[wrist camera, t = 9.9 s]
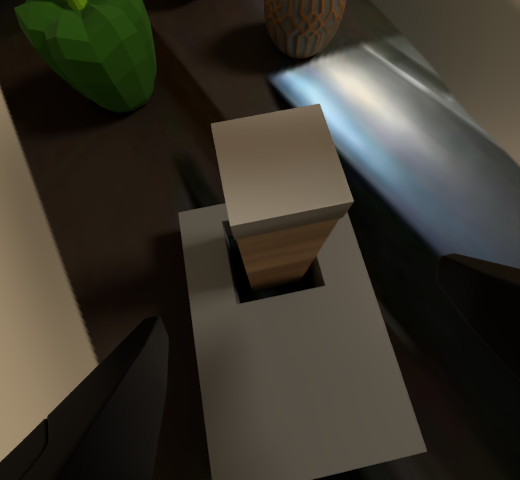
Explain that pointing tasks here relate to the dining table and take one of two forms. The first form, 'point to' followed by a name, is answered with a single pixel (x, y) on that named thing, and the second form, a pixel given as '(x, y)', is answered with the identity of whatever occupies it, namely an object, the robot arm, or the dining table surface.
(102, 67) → the bell pepper
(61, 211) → the dining table surface
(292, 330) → the block with square hole
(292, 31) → the vase
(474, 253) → the dining table surface
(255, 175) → the wooden square peg
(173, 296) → the dining table surface
